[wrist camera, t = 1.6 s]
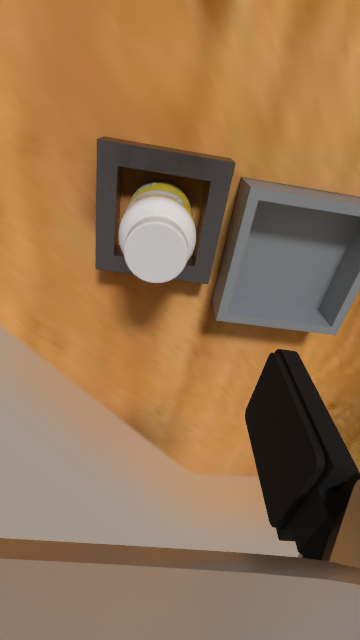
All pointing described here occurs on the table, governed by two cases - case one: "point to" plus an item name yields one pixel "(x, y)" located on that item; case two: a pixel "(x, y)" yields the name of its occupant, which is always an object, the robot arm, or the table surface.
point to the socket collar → (168, 162)
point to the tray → (289, 258)
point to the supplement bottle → (157, 232)
